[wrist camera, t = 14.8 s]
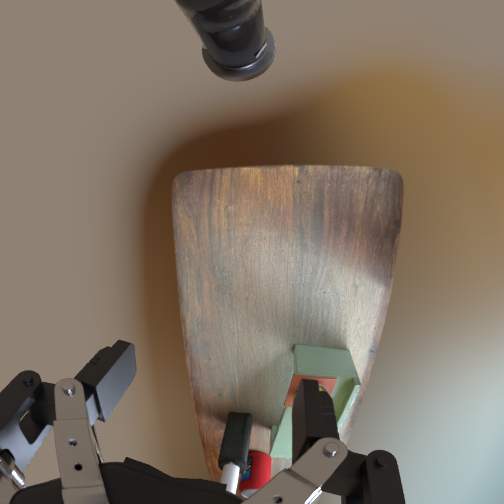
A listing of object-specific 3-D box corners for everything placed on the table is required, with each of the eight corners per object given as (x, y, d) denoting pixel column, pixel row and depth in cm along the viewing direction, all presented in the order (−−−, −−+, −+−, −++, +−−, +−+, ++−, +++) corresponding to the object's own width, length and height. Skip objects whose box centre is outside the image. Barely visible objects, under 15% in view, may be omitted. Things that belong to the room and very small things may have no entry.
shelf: (292, 343, 49) (294, 379, 39) (349, 350, 48) (361, 385, 39) (268, 429, 55) (265, 464, 46) (314, 433, 55) (317, 467, 45)
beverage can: (243, 449, 58) (236, 488, 46) (271, 449, 57) (268, 489, 46) (245, 462, 60) (239, 499, 48) (271, 463, 59) (268, 501, 47)
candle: (228, 425, 56) (207, 520, 32) (228, 410, 55) (205, 510, 30) (251, 428, 55) (237, 524, 31) (252, 413, 54) (238, 515, 30)
